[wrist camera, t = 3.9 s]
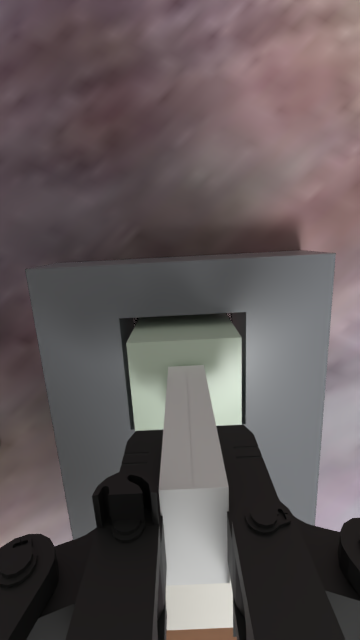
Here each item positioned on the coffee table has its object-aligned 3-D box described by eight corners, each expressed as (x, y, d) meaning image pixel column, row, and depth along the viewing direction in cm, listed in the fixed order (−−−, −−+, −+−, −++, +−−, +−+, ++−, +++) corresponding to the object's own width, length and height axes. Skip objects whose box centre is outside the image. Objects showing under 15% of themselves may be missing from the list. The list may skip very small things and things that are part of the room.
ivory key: (154, 531, 19) (146, 631, 14) (148, 465, 18) (137, 550, 13) (232, 527, 19) (250, 626, 14) (231, 461, 18) (251, 545, 13)
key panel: (110, 612, 25) (98, 681, 21) (58, 262, 18) (25, 269, 14) (283, 605, 25) (303, 673, 21) (301, 250, 18) (335, 253, 14)
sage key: (146, 390, 19) (136, 442, 14) (140, 314, 18) (126, 343, 13) (225, 386, 19) (241, 437, 14) (224, 310, 18) (241, 337, 13)
